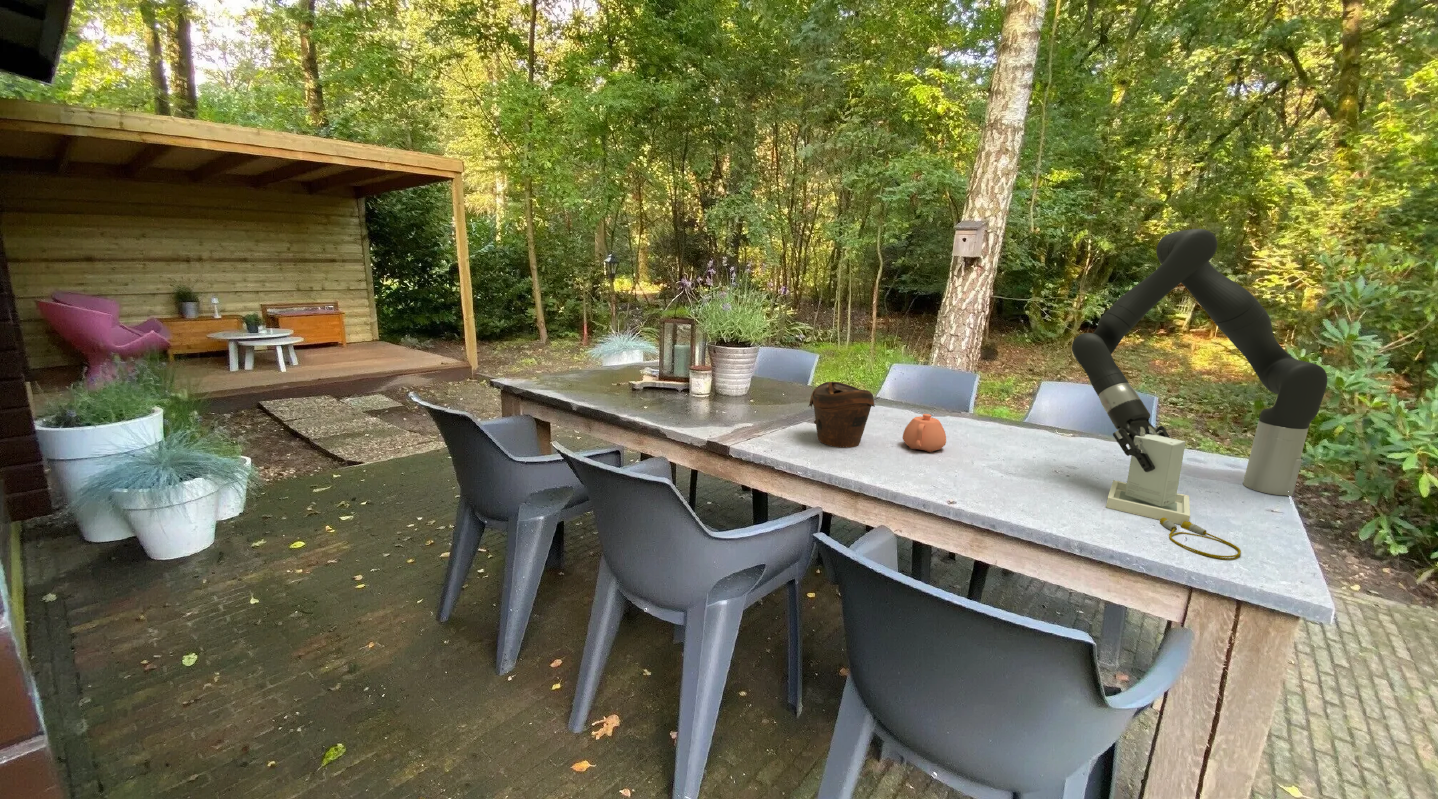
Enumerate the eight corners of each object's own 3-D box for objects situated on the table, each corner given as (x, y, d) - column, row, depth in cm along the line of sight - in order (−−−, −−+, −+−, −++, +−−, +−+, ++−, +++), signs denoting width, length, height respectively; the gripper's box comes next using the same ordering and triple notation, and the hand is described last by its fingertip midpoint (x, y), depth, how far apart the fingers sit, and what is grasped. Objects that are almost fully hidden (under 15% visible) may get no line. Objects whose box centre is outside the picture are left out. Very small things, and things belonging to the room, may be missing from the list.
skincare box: (1175, 504, 136) (1189, 441, 133) (1160, 508, 134) (1175, 444, 130) (1136, 490, 144) (1149, 431, 140) (1121, 494, 141) (1134, 434, 137)
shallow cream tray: (1186, 505, 140) (1189, 495, 140) (1187, 526, 129) (1190, 515, 128) (1111, 489, 149) (1113, 480, 148) (1105, 507, 137) (1107, 497, 137)
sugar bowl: (949, 446, 180) (953, 413, 177) (938, 458, 168) (942, 423, 166) (908, 439, 186) (911, 407, 184) (894, 450, 174) (898, 416, 172)
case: (821, 428, 194) (825, 374, 189) (880, 441, 183) (886, 383, 178) (794, 441, 180) (798, 383, 175) (856, 456, 169) (862, 394, 164)
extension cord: (1228, 536, 125) (1230, 527, 125) (1248, 568, 112) (1250, 558, 112) (1157, 522, 131) (1159, 514, 131) (1168, 551, 118) (1170, 541, 117)
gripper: (1113, 399, 138) (1152, 464, 130) (1158, 396, 142) (1199, 459, 134) (1089, 415, 144) (1125, 478, 136) (1132, 412, 149) (1170, 474, 141)
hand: (1161, 469), depth 135 cm, fingers closed on skincare box, 6 cm apart
